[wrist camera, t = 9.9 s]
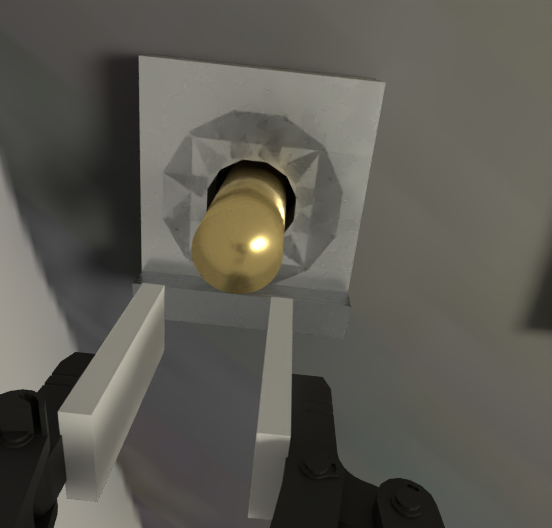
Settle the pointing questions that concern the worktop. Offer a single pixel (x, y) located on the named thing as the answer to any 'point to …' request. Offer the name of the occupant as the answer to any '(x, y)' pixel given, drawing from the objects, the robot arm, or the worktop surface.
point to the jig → (257, 147)
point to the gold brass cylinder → (243, 230)
